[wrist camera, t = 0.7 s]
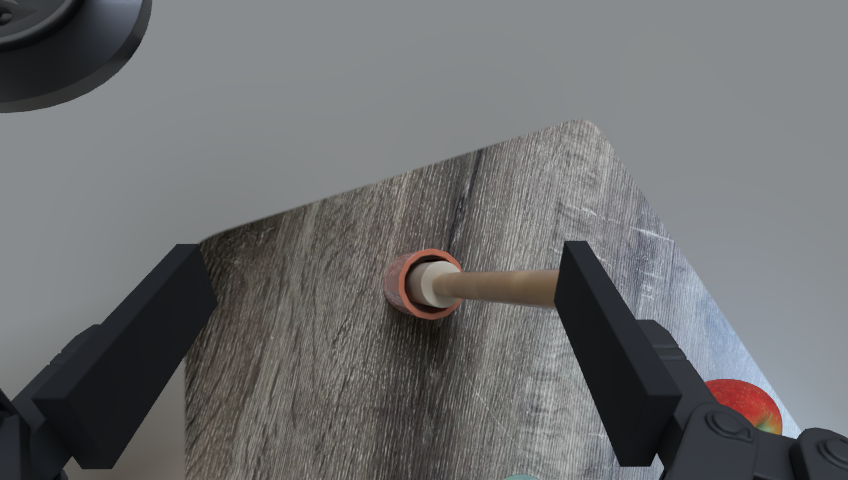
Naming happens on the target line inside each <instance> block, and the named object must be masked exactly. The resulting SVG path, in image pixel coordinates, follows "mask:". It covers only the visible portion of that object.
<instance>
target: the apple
mask: <svg viewBox="0 0 848 480" xmlns="http://www.w3.org/2000/svg"><path fill="white" fill-rule="evenodd" d="M704 383H705V384H706V385H707V387H708V388H709V390H710V391H711V393H712V394H713V395H714V397H715V398H716V400H717V401H718V402H719V404H722V405H725V406H728V407H731V408H732V409H734V410H736V411H737V412H739V413H741V414H742V415H743V416H744V417H745V418H746V419H748V420H749V421H750V422H751V423H752V424H753V426H754V428H756V429H759V430H762V431H766V432H770V433H774V434H778V435H782V418H781V414H780V411H779V409H778V407H777V405H776V403H775V402H774V401H773V399H772V398H771V397H770V396H769V395H768V394H767V393H766V392H765V391H763V390H762V389H760V388H759V387H757V386H755V385H753V384H751V383H748V382H744V381H741V380H734V379H717V380H711V381H707V382H704Z"/></svg>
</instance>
